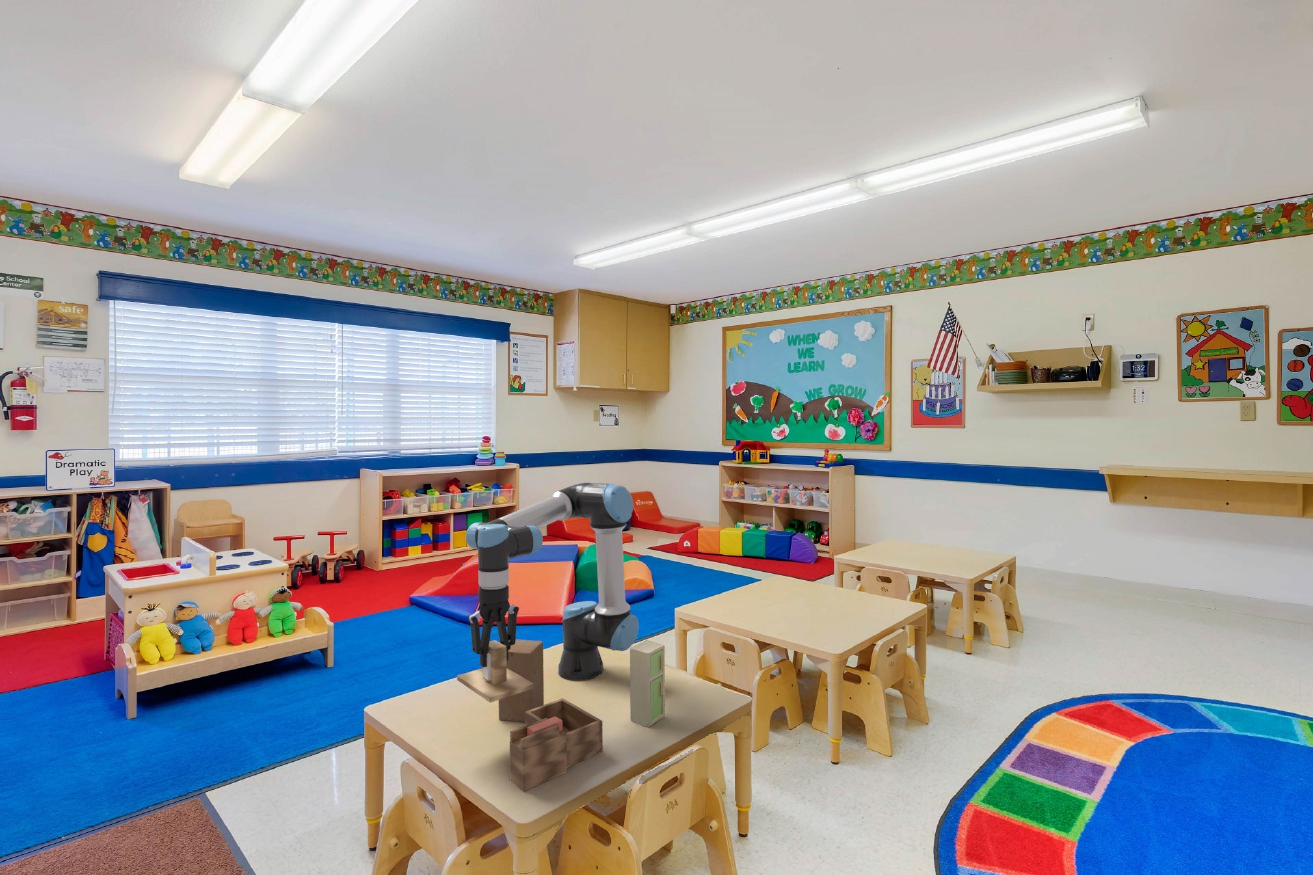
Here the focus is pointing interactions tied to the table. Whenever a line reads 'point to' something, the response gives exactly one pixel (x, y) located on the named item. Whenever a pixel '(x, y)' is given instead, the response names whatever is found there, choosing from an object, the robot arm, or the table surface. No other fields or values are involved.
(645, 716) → the toy refrigerator
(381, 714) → the table surface
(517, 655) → the wooden block
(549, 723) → the pink rectangular block
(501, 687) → the lid
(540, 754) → the brown wooden open box
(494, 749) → the table surface
